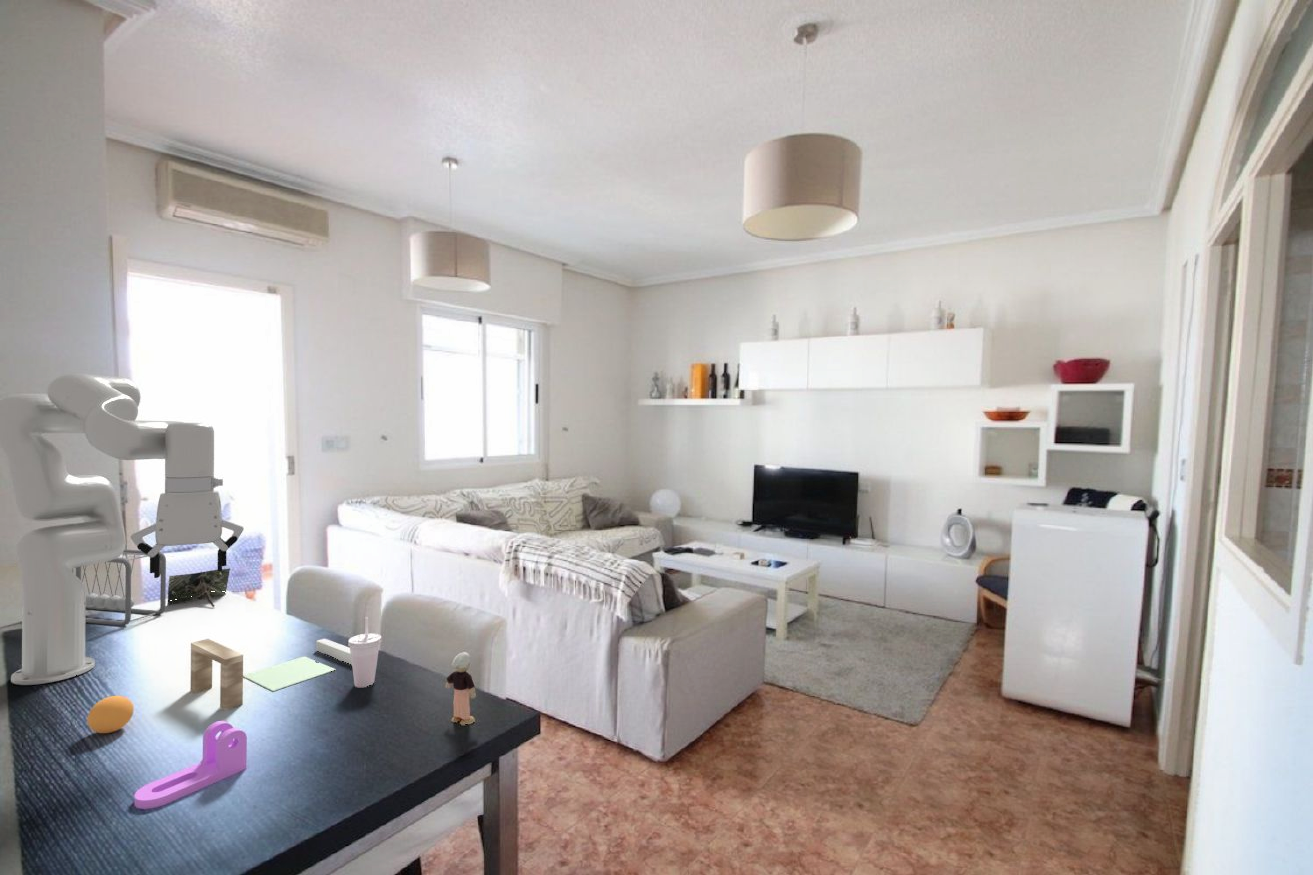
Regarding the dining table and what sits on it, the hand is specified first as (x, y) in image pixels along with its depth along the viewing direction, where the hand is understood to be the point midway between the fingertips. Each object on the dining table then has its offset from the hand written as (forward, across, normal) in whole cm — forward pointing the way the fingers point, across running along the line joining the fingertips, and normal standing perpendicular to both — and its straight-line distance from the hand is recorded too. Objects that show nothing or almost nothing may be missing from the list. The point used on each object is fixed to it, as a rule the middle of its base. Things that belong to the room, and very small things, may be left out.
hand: (189, 573), depth 116 cm
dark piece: (+20, +2, -79) cm, 82 cm away
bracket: (+26, -2, +34) cm, 42 cm away
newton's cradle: (+25, +22, -74) cm, 82 cm away
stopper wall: (+25, -27, -9) cm, 38 cm away
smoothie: (+25, -30, +10) cm, 40 cm away
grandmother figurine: (+26, -42, +36) cm, 61 cm away
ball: (+22, +10, +7) cm, 25 cm away
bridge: (+25, -4, +1) cm, 25 cm away
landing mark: (+25, -17, -4) cm, 31 cm away
